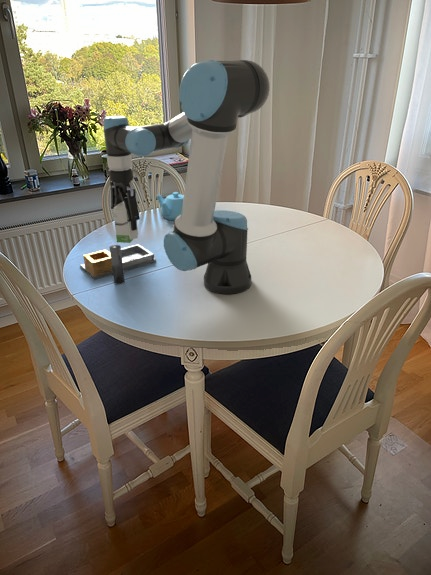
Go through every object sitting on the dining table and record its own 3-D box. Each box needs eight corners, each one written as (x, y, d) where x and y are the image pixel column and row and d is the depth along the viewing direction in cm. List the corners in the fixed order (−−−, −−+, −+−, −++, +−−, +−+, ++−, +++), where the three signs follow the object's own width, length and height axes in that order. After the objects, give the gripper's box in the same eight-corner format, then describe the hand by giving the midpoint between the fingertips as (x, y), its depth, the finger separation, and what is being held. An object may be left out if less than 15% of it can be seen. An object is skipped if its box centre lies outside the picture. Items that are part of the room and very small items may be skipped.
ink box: (130, 243, 149) (126, 209, 143) (116, 242, 150) (112, 208, 144) (138, 234, 156) (135, 201, 151) (125, 233, 157) (121, 200, 152)
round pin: (126, 282, 143) (122, 247, 137) (116, 284, 141) (112, 250, 136) (121, 278, 145) (117, 244, 140) (112, 281, 144) (107, 246, 138)
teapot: (161, 223, 192) (159, 199, 187) (157, 212, 205) (156, 189, 199) (196, 220, 194) (195, 196, 189) (190, 209, 207) (189, 187, 202)
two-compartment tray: (156, 261, 156) (155, 248, 154) (94, 279, 144) (92, 265, 142) (140, 251, 165) (138, 238, 163) (80, 267, 153) (78, 253, 151)
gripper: (147, 172, 136) (152, 241, 147) (116, 160, 151) (123, 223, 162) (124, 176, 132) (131, 246, 143) (95, 163, 147) (103, 227, 158)
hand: (127, 234), depth 152 cm, fingers closed on ink box, 9 cm apart
